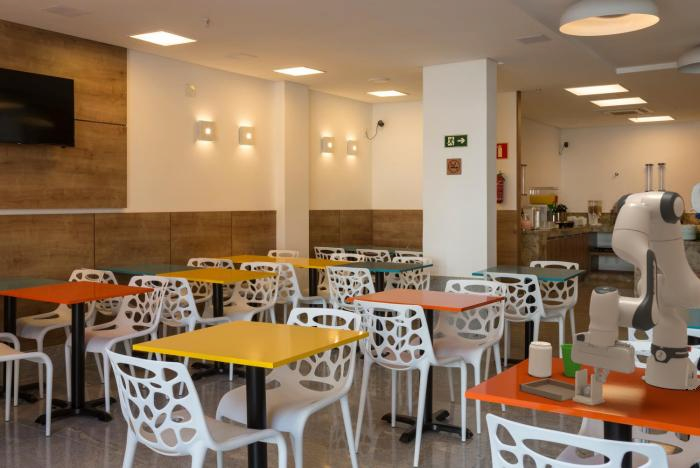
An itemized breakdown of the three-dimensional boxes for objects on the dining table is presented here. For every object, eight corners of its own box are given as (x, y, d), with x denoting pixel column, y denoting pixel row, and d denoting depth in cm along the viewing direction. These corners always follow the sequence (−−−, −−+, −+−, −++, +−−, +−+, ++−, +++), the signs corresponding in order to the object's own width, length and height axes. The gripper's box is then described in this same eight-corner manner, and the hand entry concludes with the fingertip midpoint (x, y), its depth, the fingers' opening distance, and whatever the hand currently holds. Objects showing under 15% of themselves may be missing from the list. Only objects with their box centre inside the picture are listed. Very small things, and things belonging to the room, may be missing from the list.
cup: (587, 375, 254) (588, 346, 254) (581, 380, 246) (582, 349, 246) (562, 371, 259) (564, 342, 258) (556, 376, 251) (557, 346, 251)
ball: (586, 396, 221) (587, 383, 222) (598, 399, 218) (600, 386, 219) (578, 396, 219) (580, 382, 219) (591, 399, 215) (592, 385, 216)
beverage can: (552, 378, 247) (553, 346, 246) (529, 377, 249) (530, 344, 248) (550, 373, 255) (551, 341, 254) (527, 372, 256) (528, 340, 256)
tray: (547, 383, 240) (547, 378, 240) (588, 394, 227) (588, 388, 227) (519, 390, 230) (519, 384, 230) (560, 401, 217) (560, 395, 217)
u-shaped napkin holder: (585, 397, 223) (585, 368, 223) (604, 401, 218) (605, 372, 218) (572, 400, 219) (573, 371, 219) (592, 405, 213) (592, 375, 213)
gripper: (640, 342, 208) (638, 387, 209) (580, 332, 224) (578, 374, 224) (629, 345, 204) (627, 390, 205) (569, 334, 220) (567, 376, 220)
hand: (601, 381), depth 215 cm, fingers closed
